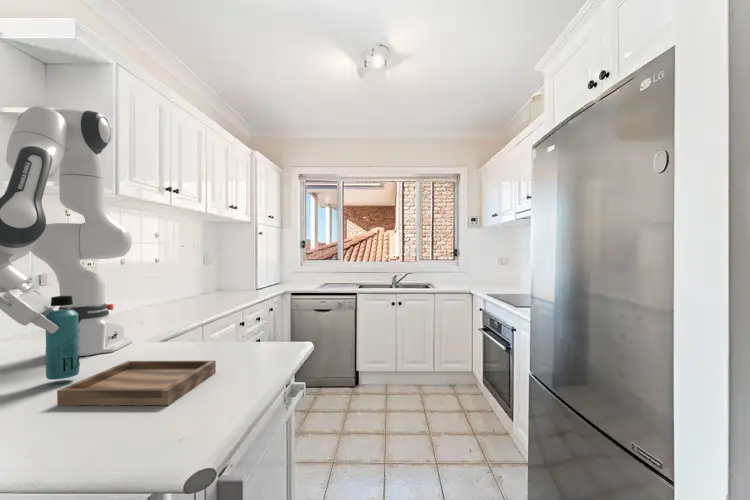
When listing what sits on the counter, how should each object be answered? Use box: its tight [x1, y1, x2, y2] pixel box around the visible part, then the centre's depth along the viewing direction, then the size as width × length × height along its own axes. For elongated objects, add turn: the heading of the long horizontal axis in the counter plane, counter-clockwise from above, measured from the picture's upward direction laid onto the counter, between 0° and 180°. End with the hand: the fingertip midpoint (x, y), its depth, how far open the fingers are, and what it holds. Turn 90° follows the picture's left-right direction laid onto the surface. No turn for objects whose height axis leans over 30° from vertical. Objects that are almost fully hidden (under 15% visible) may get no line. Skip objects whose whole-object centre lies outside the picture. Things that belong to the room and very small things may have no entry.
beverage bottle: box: [44, 295, 81, 380], centre depth 96 cm, size 6×7×20 cm
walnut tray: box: [56, 360, 217, 407], centre depth 92 cm, size 22×22×3 cm
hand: (60, 327), depth 96 cm, fingers open, 8 cm apart
